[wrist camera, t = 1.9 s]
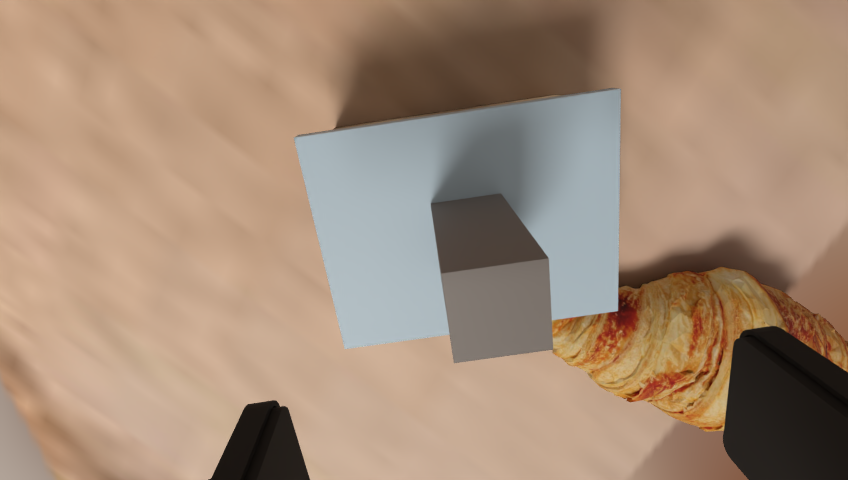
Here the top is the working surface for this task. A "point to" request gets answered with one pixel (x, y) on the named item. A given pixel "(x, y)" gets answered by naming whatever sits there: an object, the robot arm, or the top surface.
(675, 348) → the croissant
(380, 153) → the lid
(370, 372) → the top surface
